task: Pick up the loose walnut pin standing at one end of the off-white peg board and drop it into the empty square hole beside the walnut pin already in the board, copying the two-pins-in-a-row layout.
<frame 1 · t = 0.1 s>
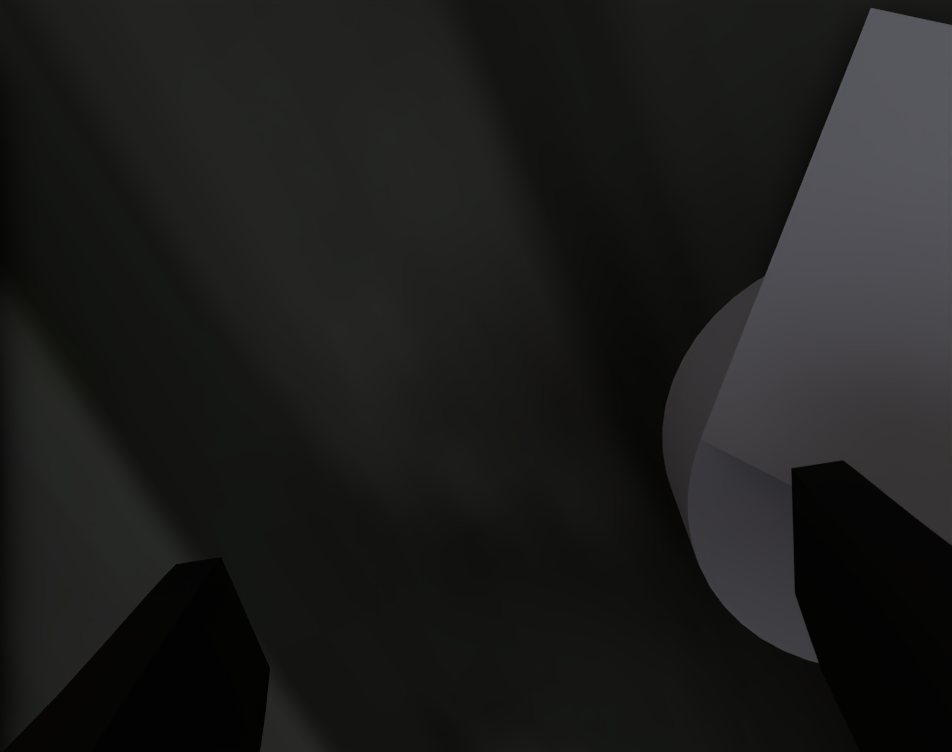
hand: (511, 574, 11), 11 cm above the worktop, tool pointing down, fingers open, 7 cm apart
wedge on round base: (879, 350, 22), on the worktop
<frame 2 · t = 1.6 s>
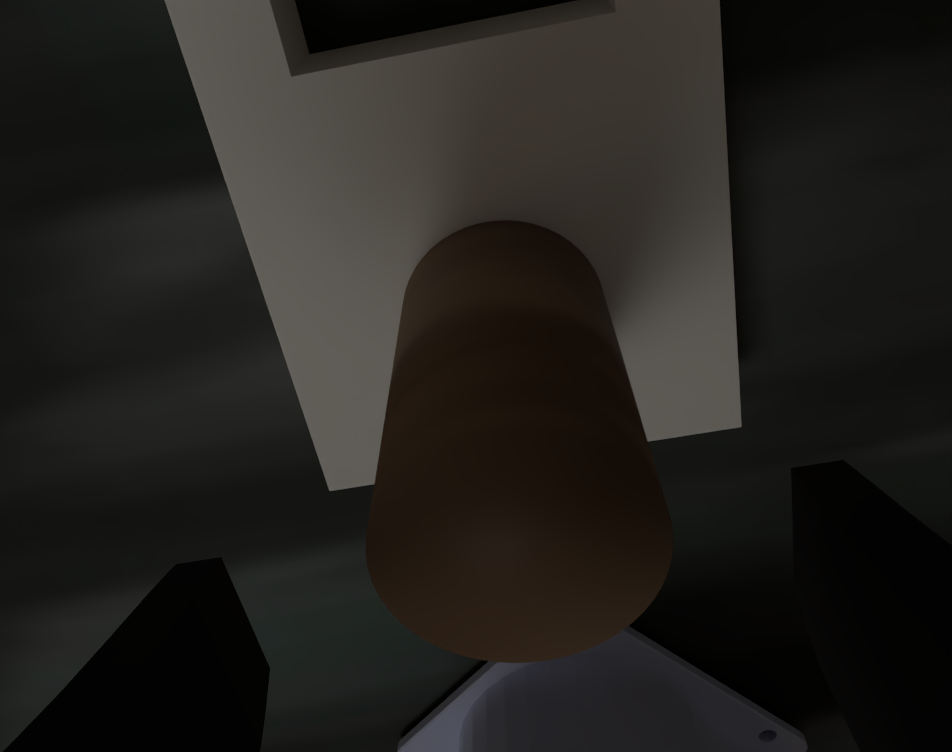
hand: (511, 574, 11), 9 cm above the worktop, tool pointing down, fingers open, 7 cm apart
walnut pin: (503, 316, 18), point 2 cm above the worktop, touching peg board
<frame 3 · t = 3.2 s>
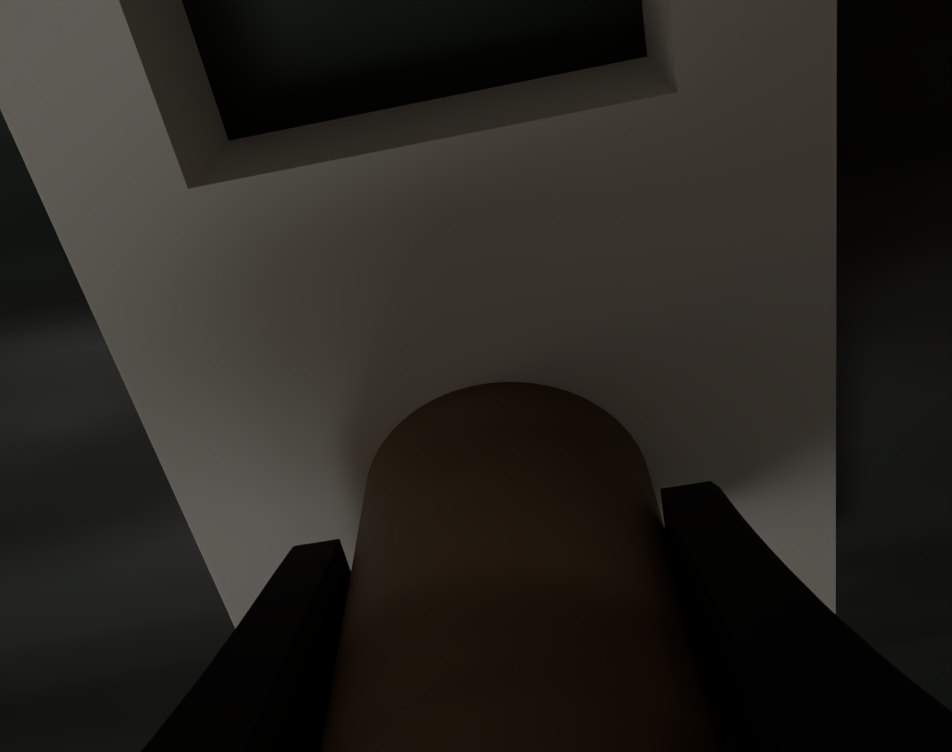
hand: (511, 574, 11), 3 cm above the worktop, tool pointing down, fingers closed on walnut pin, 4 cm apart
walnut pin: (508, 505, 13), point 2 cm above the worktop, touching gripper, peg board
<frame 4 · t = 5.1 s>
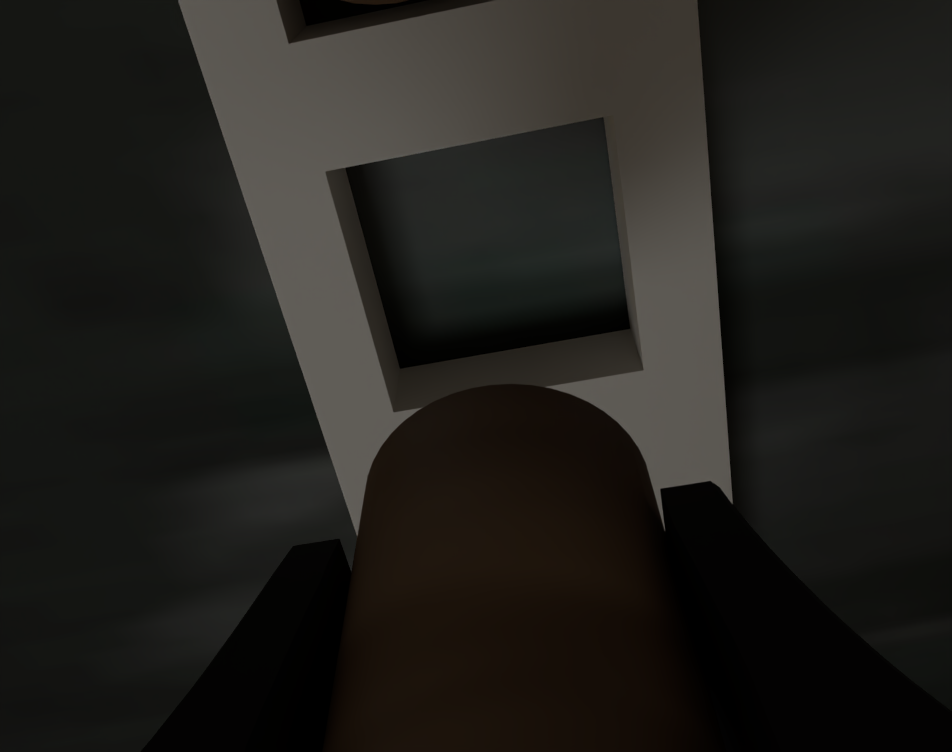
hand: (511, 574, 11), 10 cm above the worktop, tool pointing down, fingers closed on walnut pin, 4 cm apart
walnut pin: (507, 506, 13), point 9 cm above the worktop, touching gripper
peg board: (492, 241, 20), on the worktop
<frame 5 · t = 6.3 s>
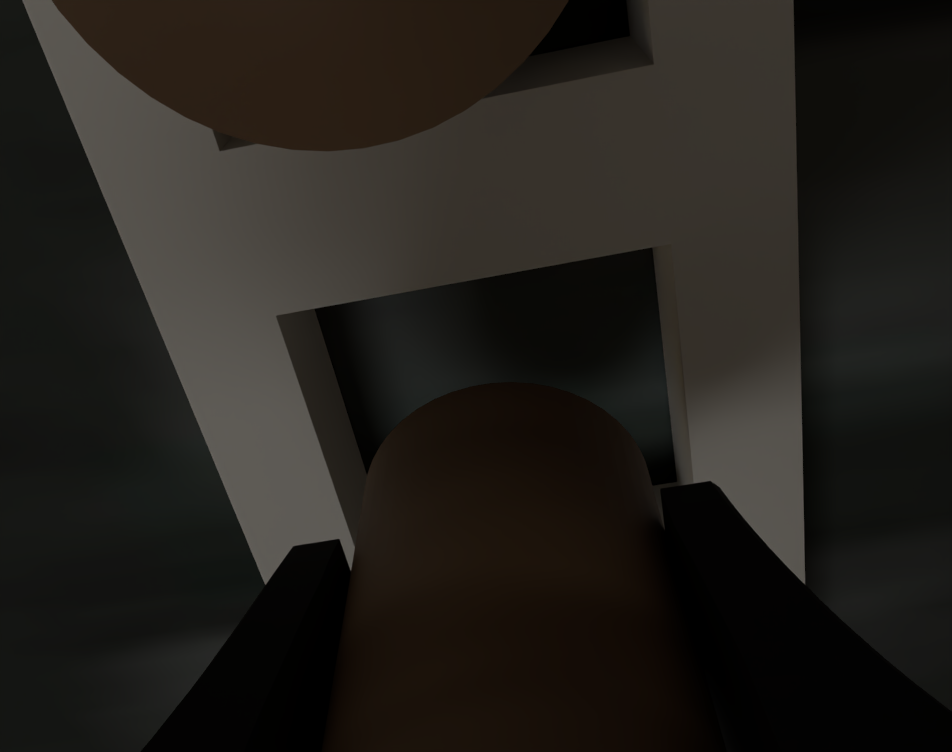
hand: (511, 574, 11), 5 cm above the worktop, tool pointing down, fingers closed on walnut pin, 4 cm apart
walnut pin: (507, 505, 13), point 4 cm above the worktop, touching gripper
peg board: (501, 379, 16), on the worktop
when the fingers open (5 cm above the worktop, at t = 7.0 s): walnut pin drops 4 cm, resting in peg board.
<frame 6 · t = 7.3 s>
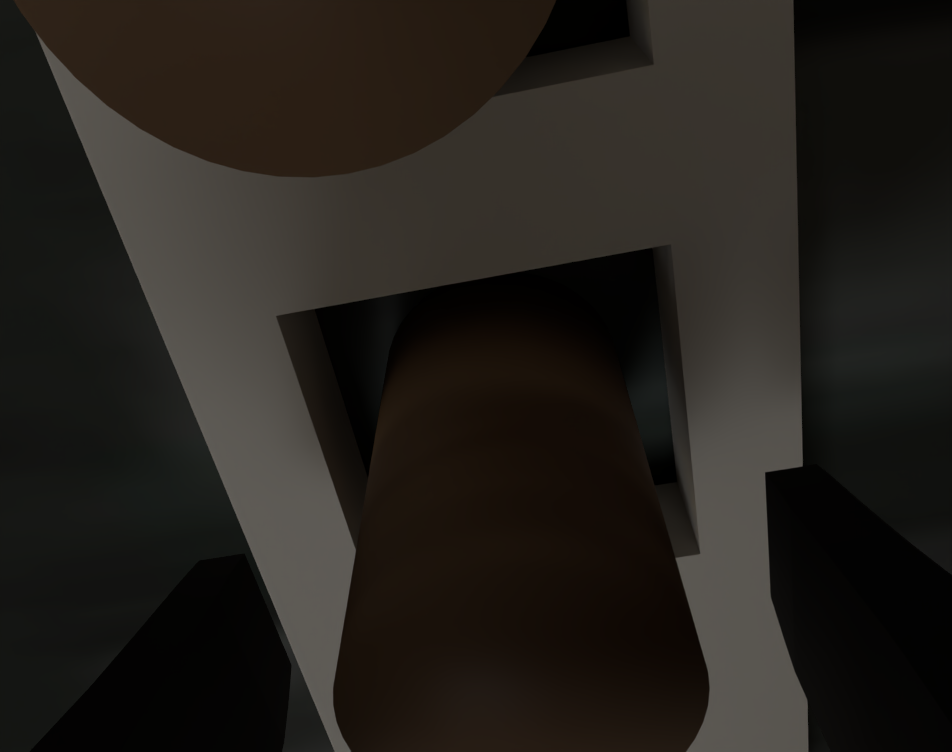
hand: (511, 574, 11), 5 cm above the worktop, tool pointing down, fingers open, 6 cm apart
walnut pin: (502, 377, 16), resting in peg board
peg board: (501, 379, 16), on the worktop
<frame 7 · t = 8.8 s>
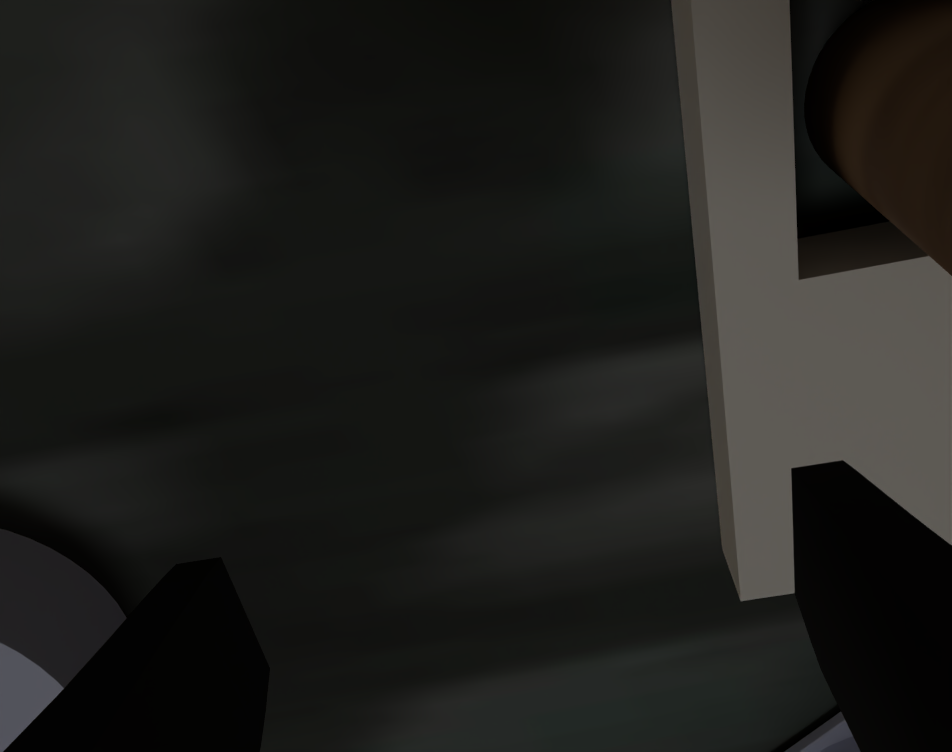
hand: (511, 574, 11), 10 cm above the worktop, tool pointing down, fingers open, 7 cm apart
walnut pin: (902, 91, 19), resting in peg board
peg board: (902, 92, 19), on the worktop
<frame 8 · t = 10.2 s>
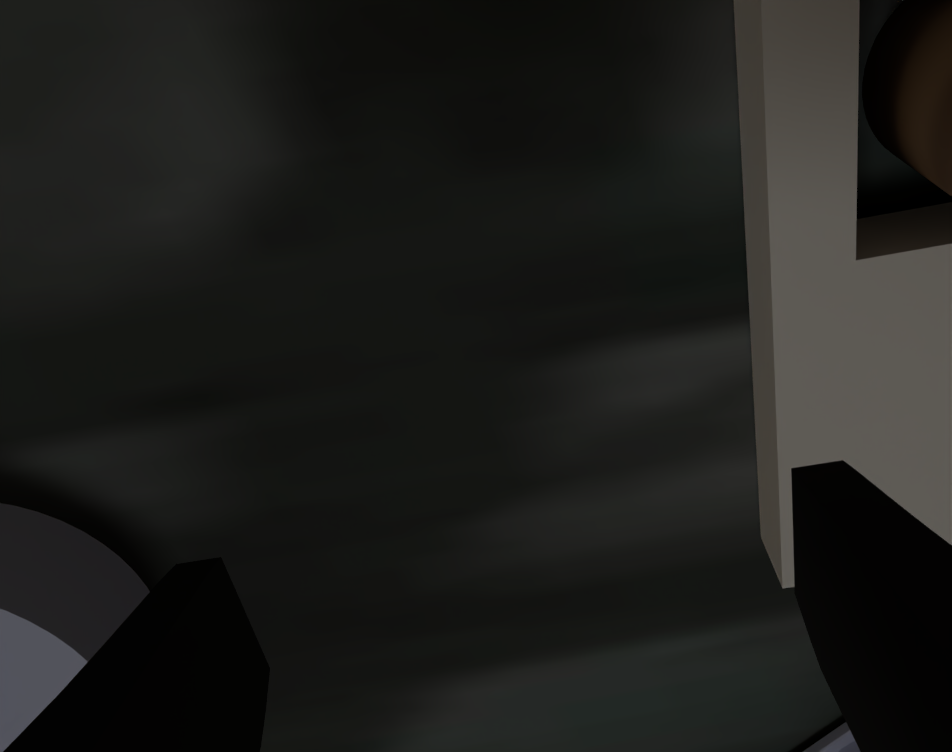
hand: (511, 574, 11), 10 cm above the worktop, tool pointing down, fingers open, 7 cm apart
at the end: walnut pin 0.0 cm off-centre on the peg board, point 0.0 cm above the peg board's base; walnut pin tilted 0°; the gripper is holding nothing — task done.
